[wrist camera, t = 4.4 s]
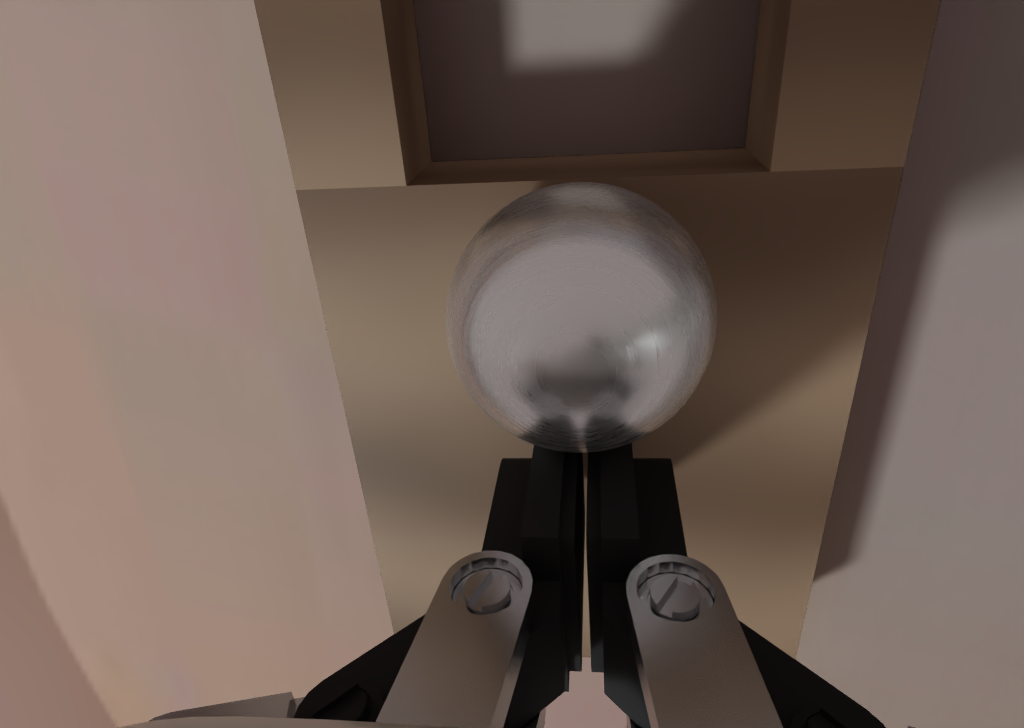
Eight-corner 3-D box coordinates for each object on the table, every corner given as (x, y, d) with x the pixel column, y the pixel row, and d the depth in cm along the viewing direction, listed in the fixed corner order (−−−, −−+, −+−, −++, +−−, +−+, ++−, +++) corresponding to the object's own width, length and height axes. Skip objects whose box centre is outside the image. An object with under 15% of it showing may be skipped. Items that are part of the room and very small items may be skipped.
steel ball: (569, 112, 10) (553, 132, 7) (746, 269, 11) (818, 362, 7) (429, 291, 12) (355, 385, 8) (591, 419, 13) (588, 557, 9)
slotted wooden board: (227, -404, 9) (143, -499, 8) (983, -530, 8) (1090, -679, 6) (415, 587, 19) (397, 646, 17) (773, 603, 18) (793, 668, 16)
